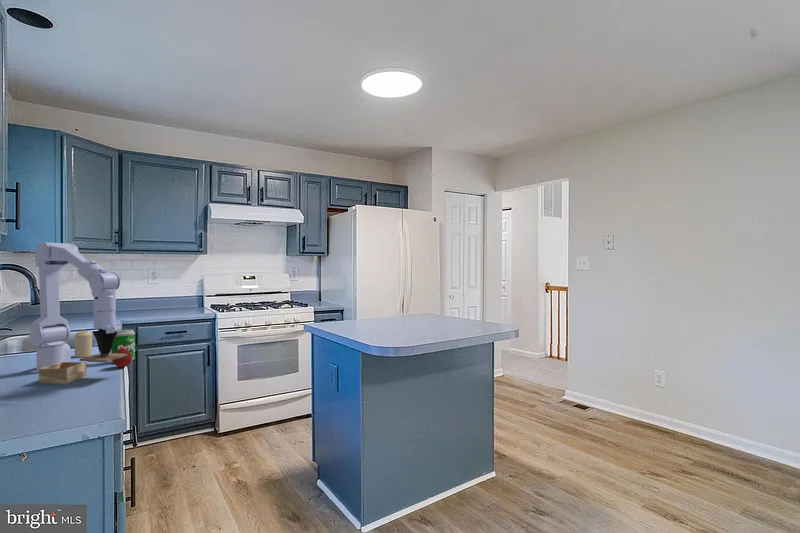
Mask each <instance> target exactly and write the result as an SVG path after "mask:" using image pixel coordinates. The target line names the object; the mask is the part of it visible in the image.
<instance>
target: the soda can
mask: <svg viewBox="0 0 800 533" xmlns="http://www.w3.org/2000/svg"><path fill="white" fill-rule="evenodd" d="M114 331H117V335H116V336H115V338H114V340H113V343H112V347H111V351H110V353H116V352H117V351H118V350H119V349H120V348H121V346H123V347H124V348H125V349H127V350H129V352H130V353H131V354H132V361H131V363H132V362H133V361H134V360H135V356H136V353H135V352H136V349H135V348H136V347H135V346H136V344H135V343H136V336H135V335H136V332H135V331H134V329H132V328H121V329H120V328H118V329H114ZM111 362H112V363H113V360H112V361H111Z"/></svg>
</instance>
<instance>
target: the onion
mask: <svg viewBox="0 0 800 533" xmlns="http://www.w3.org/2000/svg"><path fill="white" fill-rule="evenodd" d="M116 353H123V354H127V356H124V357H121V358H118V359H115V360H113V362H112V363H113V365H114V366H117V367H118V368H120V369H123V368H126V367H127V366H129V365H130V364H131V363H132V362H133V360H132V354H131V353H130V352H129V350H127V349H125V348H124V347H123V346H121V348H120V349H119V350H118V351H117V352H116ZM131 361H132V362H131Z"/></svg>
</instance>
